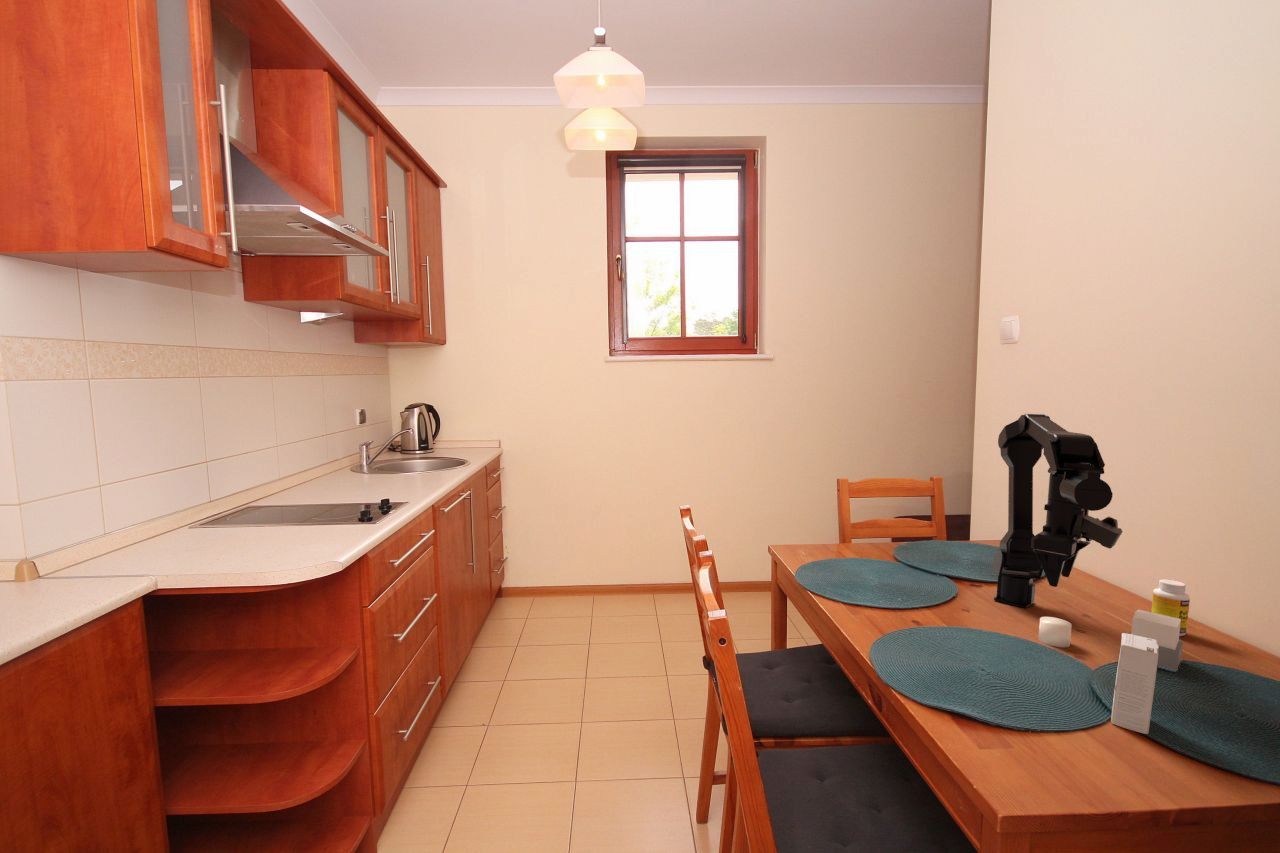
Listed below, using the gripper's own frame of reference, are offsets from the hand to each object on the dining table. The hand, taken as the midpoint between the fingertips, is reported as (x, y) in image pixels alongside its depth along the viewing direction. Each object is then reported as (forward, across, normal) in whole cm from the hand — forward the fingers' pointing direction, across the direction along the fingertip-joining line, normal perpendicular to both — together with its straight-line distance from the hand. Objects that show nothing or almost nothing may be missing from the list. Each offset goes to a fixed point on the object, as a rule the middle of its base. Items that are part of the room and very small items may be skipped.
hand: (1059, 581), depth 114 cm
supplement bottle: (+12, +25, -14) cm, 31 cm away
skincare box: (+12, -25, -15) cm, 32 cm away
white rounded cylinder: (+12, 0, 0) cm, 12 cm away
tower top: (+8, +5, -14) cm, 17 cm away
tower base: (+12, +5, -14) cm, 19 cm away
